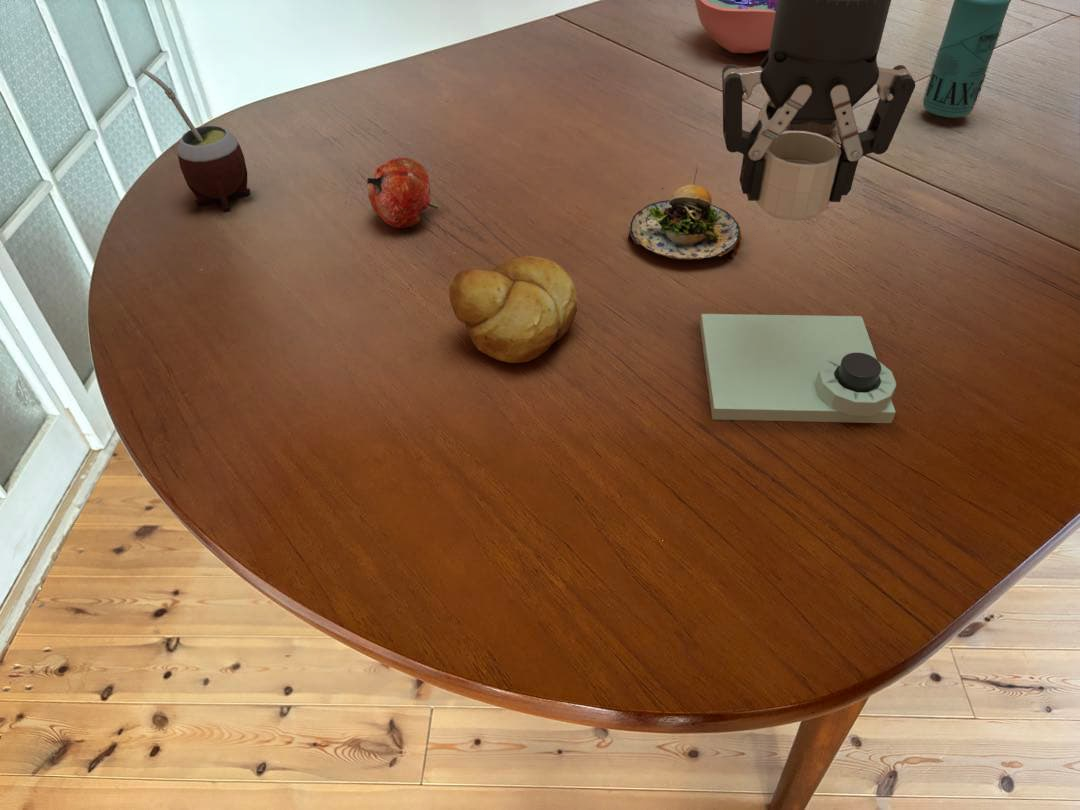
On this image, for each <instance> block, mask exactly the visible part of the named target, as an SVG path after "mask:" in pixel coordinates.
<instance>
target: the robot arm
mask: <svg viewBox="0 0 1080 810" xmlns="http://www.w3.org/2000/svg"><path fill="white" fill-rule="evenodd" d="M891 3H892V0H778V1H777V7H776V13H775V19H774V25H773V31H772V37H771V43H770V48H769V51H767V53H766V55H765V57H764V58H763V60H762V61H761V62H760V65H759V66H752V67H744V68H739V67H738V66H737V65H736V64H735V63H729V64H727V65H725V66H724V67H723V69H722V71H721V78H722V79H721V80H722V81H721V82H722V133H723V138H724V143H725V147H726V150H727V152H729V153H740V154H742V156H743V157H742V162H741V168H740V173H739V184H740V188H741V191H742V192H741V193H742V194H743V195H746V197H747V201H748V202H756V201H757V200H758V197H759V191H760V185H761V180H762V174H763V169H764V163H765V160H764V157H763V156H764V154H765V153H766V151H767V150H768V149H769V147H770V146H771V144H772V143H773V141H774V140H775V139H776V138H779V137H780V136H781V135H782V133H783V132H785V131H786V129H787V128H788V126H790V124H804V123H808V122H814V123H818V124H821V125H832V122H833V121H835V124H836V127H835V129H836V131H837V135H838V139H839V141H840V145H839V147H840V149H841V152H842V153H841V157H840V161H839V165H838V169H837V173H836V177H835V181H834V185H833V189H832V194H831V198H830V202H829V203H841V201H842V197H843V196H848V194H849V193H850V191H851V190H852V186H853V183H854V179H855V175H856V170H857V167H858V164H859V161H860V159H862V158H863V157H864V156H866V155H870V154H873V153H874V154H875V155H882V154H885V153H886V152H887V151H888V149H889V147H890V145H891V143H892V140H893V139H894V136H895V134H896V132H897V129H898V127H899V125H900V122H901V120H902V118H903V116H904V113H905V111H906V109H907V107H908V104H909V102H910V99H911V98H912V95H913V93H914V90H915V88H916V81H915V80H914V77H913V76H912V75H911V73H910V70H908V69H907V67H906V66H905V65H904V64H903V65H902V64H898V65H896V66H894V67H893V68H887V67H881V66H878V62H877V61H878V60H877V58H878V57H877V56H878V53H879V50H880V46H881V43H882V39H883V34H884V30H885V27H886V23H887V19H888V16H889V15H888V14H889V10H890V7H891ZM759 84H760V85H762V87H763V89H764V91H765V92H766V94H767V96H768V98H767V100H766V101H765V103H764V105H763V106H762V108H761V109H760V111H759V113H758V116H757V119H756V120H755V121H754V123H753V125H752V126H751V128H750V129H749V130H748V131H747V130H745V129H743V101H746V100H748V99H750V97H751V96H752V95H753V91H754V89H755V87H756V86H757V85H759ZM875 85H877V87H876V93H877V95H878V97H879V99H878V101H877V104H876V106H875V109H874V111H873V113H872V116H871V118H870V121H869V123H868V124H867V125H868V126H867V128H866V130H864V131H861V132H859V129H858V126H857V121H856V118H855V114H854V111H853V107H854V106H855V105H856V104H857V103H858V102H859V101H860V100H861V99H863V97H865V95H866V94H867V93H868V92H869V91H870V90H872V88H874V86H875ZM789 123H790V124H789Z"/></svg>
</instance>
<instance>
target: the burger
mask: <svg viewBox="0 0 1080 810" xmlns="http://www.w3.org/2000/svg"><path fill="white" fill-rule="evenodd" d="M697 173H698V168H696V169H695V174H694V180H693V184H687V185H684V186H680V187H679V188H677V189H676V190H675V191H673V193H672V194H671V195H670V197H669V199H668V200H661V201H657V202H653V203H650V204H647V205H645V206H644V207H643V208H642V209H640V210H638V211H637V212H636V213H635V214H634V215H633V216H632V219H631V220H630V223H629V232H628V235H627V239H628V240H630V239H632V241H633V242H634V243H635V244H637V245H640V246H642V247H643V248H645V250H647V251H649V252H652V253H654V254H656V255H658V256H660V255H661V256H664V257H666V258H669V259H675V260H689V261H690V260H702V259H708V258H709V259H710V258H712V257H713V258H714V257H722V256H724V255H726V254H728V253H730V251H731V253H730V258H732V259H734V258H735V257H737V256H738V253H739V252H740V248H741V242H742V231H741V227H740V225H739V223H738V222H737V220H736V218H735V217H734V216H732V215H731V214H730V213H729V212H728V211H727V210H726V209H725V210H724V209H723V208H721V207H717V206H716V205H714V204H712V203H713V202H712V201H713V200H712V196H711V193H710V192H709V191H708V190H707V189H706V188H705V187H703V186H701V185H698V184H695V182H696V178H697Z"/></svg>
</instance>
